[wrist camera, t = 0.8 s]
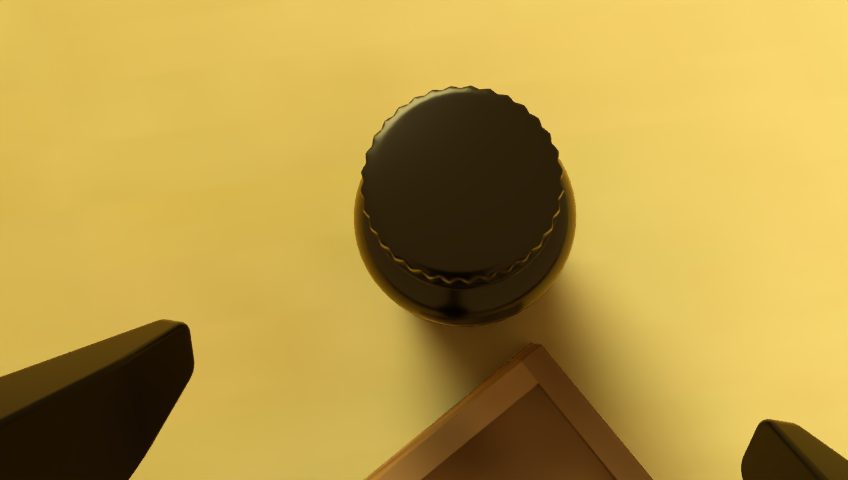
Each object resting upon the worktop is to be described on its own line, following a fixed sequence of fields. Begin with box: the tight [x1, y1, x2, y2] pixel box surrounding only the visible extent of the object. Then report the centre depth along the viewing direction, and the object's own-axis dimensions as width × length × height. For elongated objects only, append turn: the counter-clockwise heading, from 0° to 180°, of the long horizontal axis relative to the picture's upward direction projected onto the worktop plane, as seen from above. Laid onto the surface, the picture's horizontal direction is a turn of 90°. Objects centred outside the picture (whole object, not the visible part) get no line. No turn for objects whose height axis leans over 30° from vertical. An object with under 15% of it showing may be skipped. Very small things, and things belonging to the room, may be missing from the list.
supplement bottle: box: [354, 86, 576, 327], centre depth 17 cm, size 7×7×12 cm
